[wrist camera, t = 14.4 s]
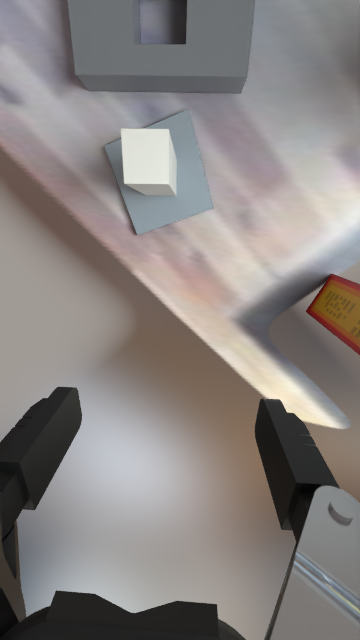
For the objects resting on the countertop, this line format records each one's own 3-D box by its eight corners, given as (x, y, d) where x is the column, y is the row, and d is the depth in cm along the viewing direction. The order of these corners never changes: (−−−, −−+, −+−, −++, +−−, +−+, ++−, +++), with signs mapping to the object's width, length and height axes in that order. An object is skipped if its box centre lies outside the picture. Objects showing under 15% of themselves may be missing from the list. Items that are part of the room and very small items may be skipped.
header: (253, -35, 24) (262, -74, 21) (240, 93, 28) (247, 76, 25) (77, -34, 25) (59, -73, 22) (88, 90, 29) (75, 74, 25)
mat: (188, 112, 29) (188, 109, 28) (213, 208, 33) (213, 207, 32) (106, 148, 31) (103, 145, 30) (138, 234, 35) (137, 235, 34)
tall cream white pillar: (176, 159, 30) (168, 128, 20) (176, 195, 32) (168, 184, 21) (144, 159, 30) (120, 128, 20) (145, 195, 32) (124, 183, 22)
